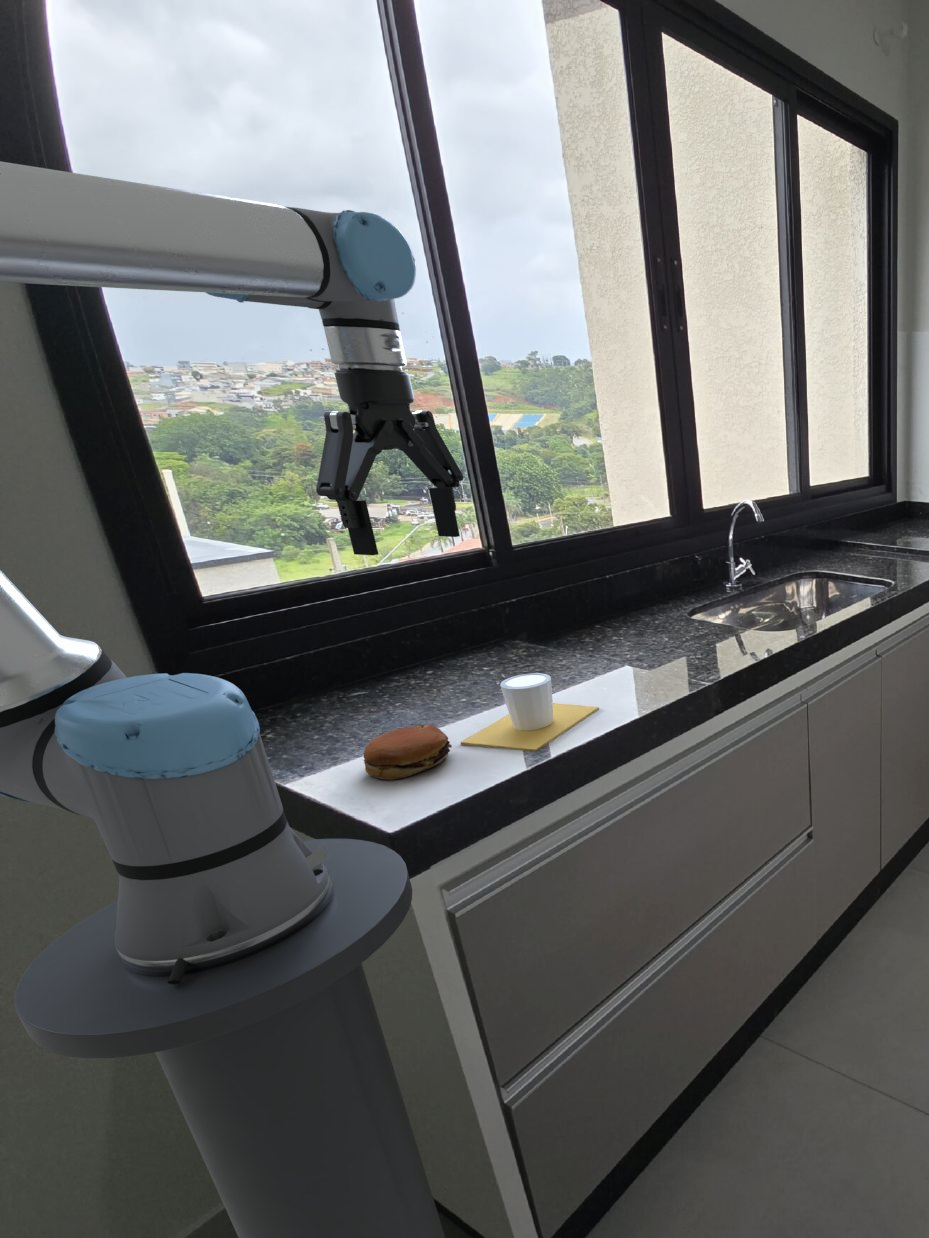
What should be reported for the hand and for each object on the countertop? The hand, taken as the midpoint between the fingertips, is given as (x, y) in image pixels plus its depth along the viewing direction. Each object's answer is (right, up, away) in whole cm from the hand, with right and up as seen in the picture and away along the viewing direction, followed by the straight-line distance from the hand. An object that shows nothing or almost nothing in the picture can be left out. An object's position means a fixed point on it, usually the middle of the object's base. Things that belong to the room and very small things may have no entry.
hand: (410, 545), depth 97 cm
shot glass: (+8, -24, +16) cm, 30 cm away
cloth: (+8, -25, +16) cm, 31 cm away
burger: (-2, -29, +4) cm, 30 cm away
